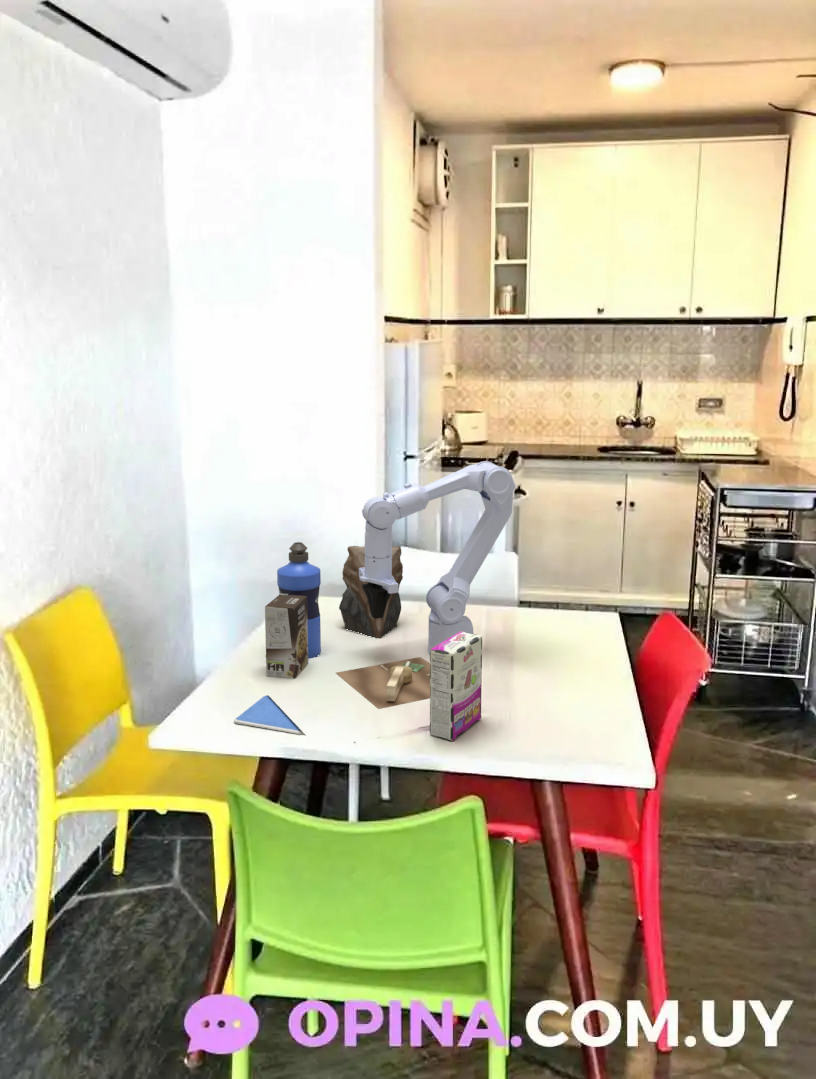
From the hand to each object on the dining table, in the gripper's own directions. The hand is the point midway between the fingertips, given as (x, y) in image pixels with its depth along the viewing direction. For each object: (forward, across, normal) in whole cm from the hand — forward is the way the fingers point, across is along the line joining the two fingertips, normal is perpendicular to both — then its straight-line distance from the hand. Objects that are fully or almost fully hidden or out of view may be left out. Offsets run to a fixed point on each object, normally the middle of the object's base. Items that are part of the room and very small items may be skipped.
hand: (377, 617), depth 186 cm
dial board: (+10, +14, -2) cm, 17 cm away
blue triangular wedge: (+11, +17, -26) cm, 33 cm away
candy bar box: (+10, +35, -2) cm, 36 cm away
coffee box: (+11, -3, -19) cm, 22 cm away
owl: (+11, -20, +9) cm, 25 cm away
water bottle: (+11, -14, -12) cm, 21 cm away
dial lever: (+9, +14, -2) cm, 17 cm away
